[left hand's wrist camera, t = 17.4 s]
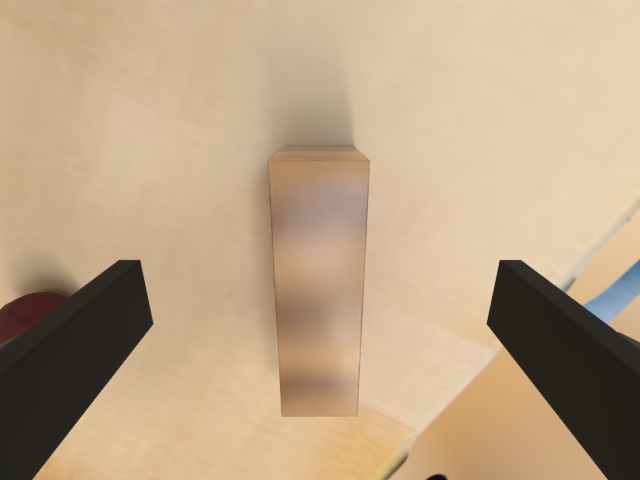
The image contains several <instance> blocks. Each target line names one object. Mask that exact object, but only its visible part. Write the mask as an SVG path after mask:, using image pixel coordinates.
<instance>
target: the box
mask: <svg viewBox="0 0 640 480" xmlns="http://www.w3.org/2000/svg"><path fill="white" fill-rule="evenodd" d="M268 170H269V189H270V208H271V226H272V245H273V264H274V282H275V301H276V319H277V338H278V357H279V375H280V394H281V412H282V417H340V416H357V412H358V392H359V372H360V351H361V331H362V311H363V291H364V271H365V251H366V231H367V210H368V190H369V170H370V161H369V160H368V159H367V158H366V157H365V156H364V155H363V154H362V153H361V152H360V151H359V150H358V149H357V148H356V147H355V146H283V147H282V148H281V149H280V150H279V151H278V152H277V153H276V154H275V155H274V156H273V157H272V158H271V159H270V160H269V161H268Z"/></svg>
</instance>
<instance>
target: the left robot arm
mask: <svg viewBox="0 0 640 480" xmlns="http://www.w3.org/2000/svg"><path fill="white" fill-rule="evenodd" d="M152 325H153V320H152V315H151V310H150V305H149V300H148V296H147V291H146V286H145V281H144V276H143V271H142V267H141V262H140V260H119V261H117V262H116V263H115V264H113V265H112V266H111V267H109V268H108V269H106V270H105V271H104V272H102V273H101V274H100V275H98V276H97V277H96V278H94V279H93V280H92V281H90V282H89V283H88V284H86V285H85V286H84V287H82V288H81V289H80V290H78V291H77V292H76V293H74V294H73V295H72V296H70V297H69V298H68V299H66V300H65V301H64V302H62V303H61V304H60V305H58V306H57V307H56V308H54V309H53V310H52V311H50V312H49V313H48V314H46V315H45V316H44V317H42V318H41V319H40V320H38V321H37V322H36V323H34V324H33V325H32V326H30V327H29V328H28V329H26V330H25V331H24V332H22V333H21V334H19V335H17V336H15V337H13V338H11V339H9V340H7V341H5V342H3V343H1V344H0V480H32V479H33V478H34V477H35V475H36V474H37V473H38V471H39V470H40V469H41V468H42V466H43V465H44V464H45V462H46V461H47V460H48V459H49V457H50V456H51V455H52V453H53V452H54V451H55V450H56V448H57V447H58V446H59V445H60V443H61V442H62V441H63V439H64V438H65V437H66V436H67V434H68V433H69V432H70V430H71V429H72V428H73V427H74V425H75V424H76V423H77V421H78V420H79V419H80V418H81V416H82V415H83V414H84V412H85V411H86V410H87V409H88V407H89V406H90V405H91V403H92V402H93V401H94V400H95V398H96V397H97V396H98V394H99V393H100V392H101V391H102V389H103V388H104V387H105V385H106V384H107V383H108V382H109V380H110V379H111V378H112V376H113V375H114V374H115V373H116V371H117V370H118V369H119V367H120V366H121V365H122V364H123V362H124V361H125V360H126V358H127V357H128V356H129V355H130V353H131V352H132V351H133V349H134V348H135V347H136V346H137V344H138V343H139V342H140V340H141V339H142V338H143V337H144V335H145V334H146V333H147V331H148V330H149V329H150V328H151V326H152ZM487 325H488V326H489V328H490V329H491V330H492V331H493V333H494V334H495V335H496V337H497V338H498V339H499V340H500V342H501V343H502V344H503V346H504V347H505V348H506V349H507V351H508V352H509V353H510V355H511V356H512V357H513V358H514V360H515V361H516V362H517V364H518V365H519V366H520V367H521V369H522V370H523V371H524V373H525V374H526V375H527V376H528V378H529V379H530V380H531V382H532V383H533V384H534V385H535V387H536V388H537V389H538V390H539V392H540V393H541V394H542V396H543V397H544V398H545V400H546V401H547V402H548V403H549V405H550V406H551V407H552V409H553V410H554V411H555V412H556V414H557V415H558V416H559V418H560V419H561V420H562V421H563V423H564V424H565V425H566V427H567V428H568V429H569V430H570V432H571V433H572V434H573V435H574V437H575V438H576V439H577V441H578V442H579V443H580V444H581V446H582V447H583V448H584V450H585V451H586V452H587V453H588V455H589V456H590V457H591V459H592V460H593V461H594V462H595V464H596V465H597V466H598V468H599V469H600V470H601V471H602V473H603V474H604V475H605V477H606V478H607V479H608V480H640V342H638V341H636V340H634V339H632V338H630V337H628V336H626V335H624V334H622V333H619V332H616V331H615V330H614V329H612V328H611V327H610V326H608V325H607V324H606V323H604V322H603V321H602V320H600V319H599V318H598V317H596V316H595V315H594V314H592V313H591V312H590V311H588V310H587V309H586V308H584V307H583V306H582V305H580V304H579V303H578V302H576V301H575V300H574V299H572V298H571V297H570V296H568V295H567V294H566V293H564V292H563V291H562V290H560V289H559V288H558V287H556V286H555V285H554V284H552V283H551V282H550V281H548V280H547V279H546V278H544V277H543V276H542V275H540V274H539V273H538V272H536V271H535V270H534V269H532V268H531V267H529V266H528V265H527V264H525V263H524V262H523V261H521V260H500V262H499V267H498V271H497V276H496V281H495V286H494V291H493V296H492V300H491V305H490V310H489V315H488V320H487Z"/></svg>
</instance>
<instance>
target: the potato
mask: <svg viewBox="0 0 640 480" xmlns="http://www.w3.org/2000/svg"><path fill="white" fill-rule="evenodd" d="M66 299H67V298H65V297H64V296H62V295H60V294H56V293H53V292H42V293H32V294H28V295H25V296H23V297H20V298H18V299H15V300H14V301H12V302H10V303H8V304H6V305H5V306H3V308H2V309H1V310H0V344H1V343H3V342H5V341H7V340H9V339H11V338H13V337H15V336H17V335H19V334H21V333H22V332H24V331H25V330H26V329H28V328H29V327H30V326H32V325H33V324H34V323H36V322H37V321H38V320H40V319H41V318H42V317H44V316H45V315H46V314H48V313H49V312H50V311H52V310H53V309H54V308H56V307H57V306H58V305H60V304H61V303H62V302H64V301H65V300H66Z"/></svg>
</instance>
